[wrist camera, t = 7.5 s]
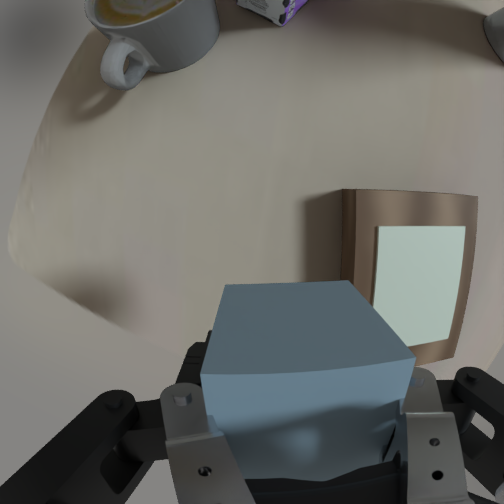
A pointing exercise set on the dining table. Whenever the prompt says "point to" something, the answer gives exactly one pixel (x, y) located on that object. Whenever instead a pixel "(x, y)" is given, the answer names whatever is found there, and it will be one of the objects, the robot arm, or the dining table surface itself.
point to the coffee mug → (152, 36)
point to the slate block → (303, 379)
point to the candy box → (274, 9)
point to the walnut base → (412, 262)
